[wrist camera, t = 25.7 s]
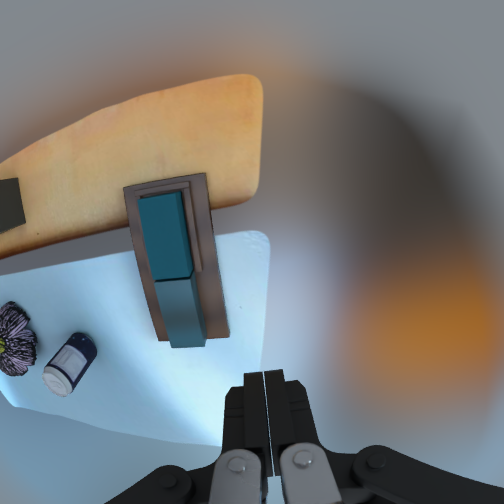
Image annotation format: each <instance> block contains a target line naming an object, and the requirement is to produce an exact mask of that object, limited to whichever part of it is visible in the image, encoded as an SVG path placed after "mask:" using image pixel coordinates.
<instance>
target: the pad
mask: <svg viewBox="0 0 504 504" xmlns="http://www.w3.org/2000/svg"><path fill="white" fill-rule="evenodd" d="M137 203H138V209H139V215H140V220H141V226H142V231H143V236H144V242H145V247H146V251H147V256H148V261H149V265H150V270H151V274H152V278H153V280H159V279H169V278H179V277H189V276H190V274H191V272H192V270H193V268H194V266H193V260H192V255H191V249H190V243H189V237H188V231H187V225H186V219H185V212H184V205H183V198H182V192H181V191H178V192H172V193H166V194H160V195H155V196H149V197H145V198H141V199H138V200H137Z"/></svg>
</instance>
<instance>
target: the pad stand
mask: <svg viewBox="0 0 504 504" xmlns="http://www.w3.org/2000/svg"><path fill="white" fill-rule="evenodd" d="M25 223H26V221H25V216H24V211H23V206H22V201H21V195H20V189H19V183H18V178H11V179H5V180H0V234H1V233H3V232H6V231H8V230H10V229H13V228H15V227H17V226H20V225H22V224H25Z"/></svg>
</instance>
